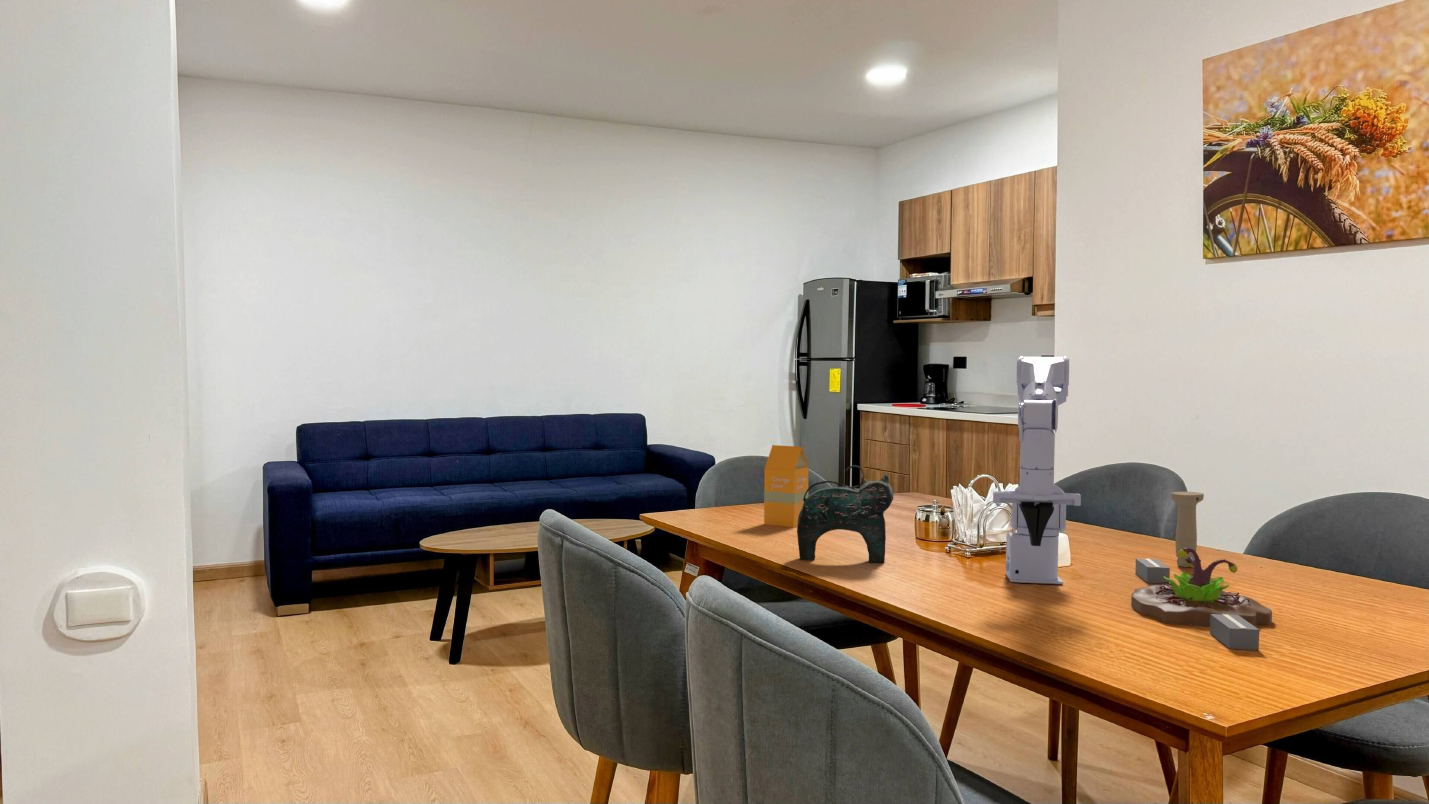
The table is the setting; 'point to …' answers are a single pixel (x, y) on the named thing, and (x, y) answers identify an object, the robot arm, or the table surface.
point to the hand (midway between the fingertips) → (1035, 545)
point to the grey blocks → (1222, 626)
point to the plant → (1196, 598)
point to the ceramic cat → (846, 515)
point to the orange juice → (785, 485)
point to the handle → (1186, 523)
